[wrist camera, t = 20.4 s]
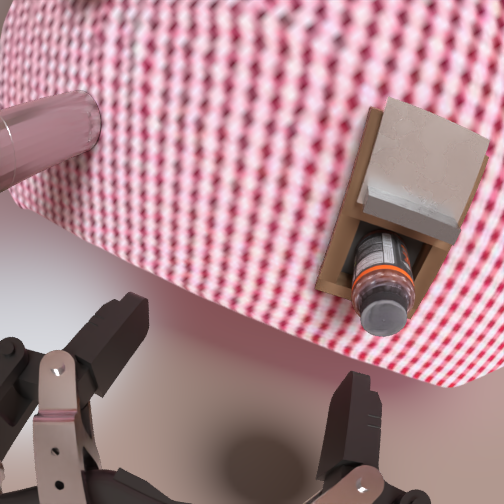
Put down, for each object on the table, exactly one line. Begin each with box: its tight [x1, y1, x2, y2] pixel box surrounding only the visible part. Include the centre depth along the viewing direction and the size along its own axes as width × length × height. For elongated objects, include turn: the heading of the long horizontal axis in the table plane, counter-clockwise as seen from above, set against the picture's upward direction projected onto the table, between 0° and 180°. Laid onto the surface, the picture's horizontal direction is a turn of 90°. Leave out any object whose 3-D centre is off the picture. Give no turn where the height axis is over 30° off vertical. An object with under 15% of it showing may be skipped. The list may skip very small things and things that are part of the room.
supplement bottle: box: [351, 230, 415, 337], centre depth 29 cm, size 6×6×11 cm
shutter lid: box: [357, 96, 490, 245], centre depth 23 cm, size 10×10×3 cm
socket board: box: [315, 106, 489, 319], centre depth 30 cm, size 12×20×3 cm, turn 170°
